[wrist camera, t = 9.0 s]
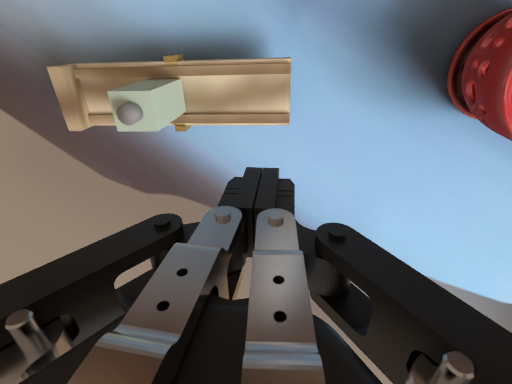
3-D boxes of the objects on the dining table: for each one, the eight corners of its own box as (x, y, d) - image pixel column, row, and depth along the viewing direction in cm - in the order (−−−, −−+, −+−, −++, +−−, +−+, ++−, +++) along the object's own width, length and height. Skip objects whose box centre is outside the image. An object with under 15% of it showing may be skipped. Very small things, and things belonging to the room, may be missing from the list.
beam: (92, 55, 38) (44, 60, 30) (291, 49, 35) (290, 53, 27) (109, 118, 42) (70, 135, 34) (289, 117, 39) (288, 136, 31)
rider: (147, 79, 32) (98, 93, 24) (181, 78, 32) (143, 93, 24) (153, 111, 34) (110, 135, 26) (186, 111, 34) (152, 135, 25)
